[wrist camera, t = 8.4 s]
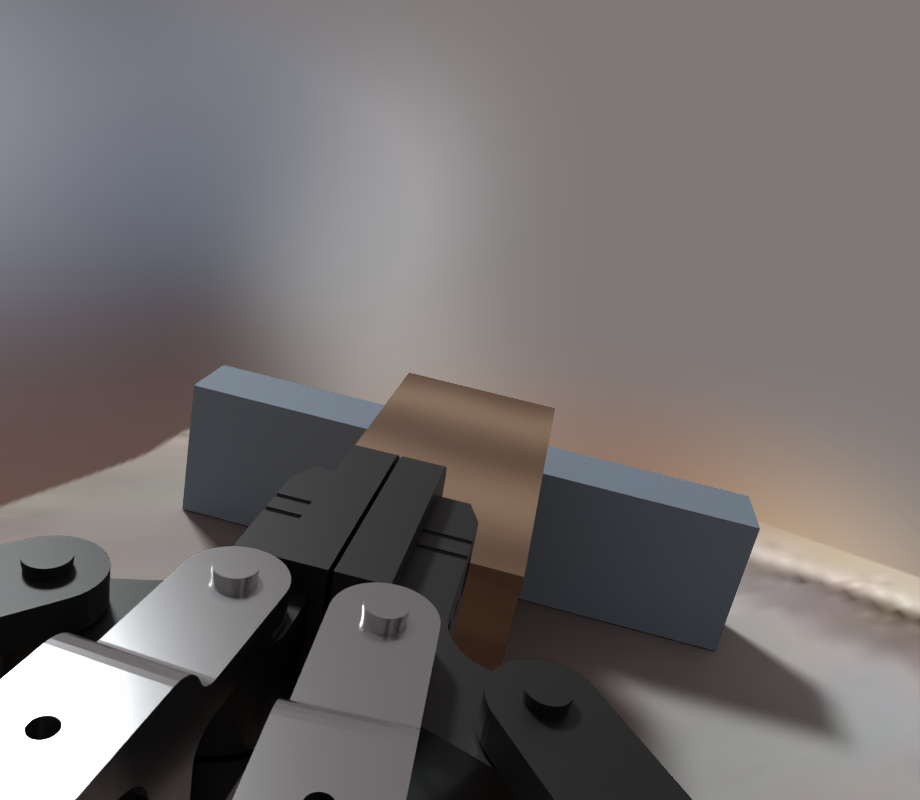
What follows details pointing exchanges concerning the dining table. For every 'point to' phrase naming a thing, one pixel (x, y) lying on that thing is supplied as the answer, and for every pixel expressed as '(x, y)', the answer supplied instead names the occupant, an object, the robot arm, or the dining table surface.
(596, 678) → the dining table surface
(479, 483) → the walnut block
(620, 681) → the dining table surface
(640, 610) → the grey board
